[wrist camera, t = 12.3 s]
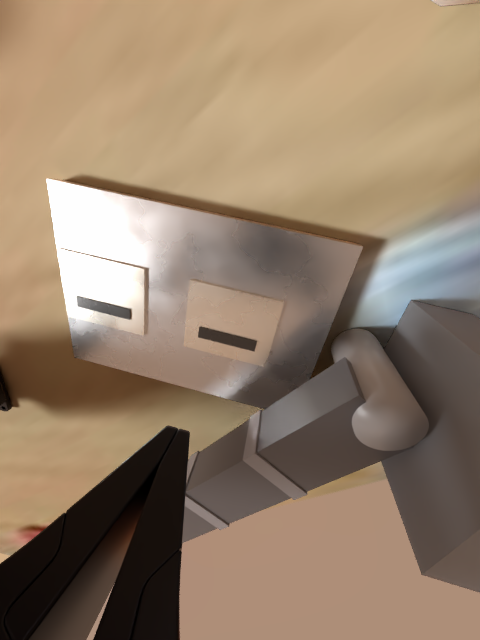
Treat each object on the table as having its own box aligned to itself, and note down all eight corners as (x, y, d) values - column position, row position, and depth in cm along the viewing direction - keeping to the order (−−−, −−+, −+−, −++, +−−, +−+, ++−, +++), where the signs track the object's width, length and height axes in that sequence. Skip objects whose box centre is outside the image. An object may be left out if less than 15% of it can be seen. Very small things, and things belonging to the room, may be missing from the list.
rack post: (358, 396, 19) (421, 574, 10) (410, 300, 15) (588, 444, 6) (407, 409, 18) (517, 603, 10) (472, 314, 15) (750, 486, 6)
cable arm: (196, 474, 26) (169, 553, 20) (164, 451, 25) (128, 526, 20) (394, 355, 17) (452, 440, 11) (353, 313, 16) (391, 380, 10)
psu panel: (84, 349, 21) (71, 359, 20) (62, 179, 16) (41, 178, 14) (293, 405, 20) (294, 420, 19) (357, 243, 14) (364, 247, 13)
